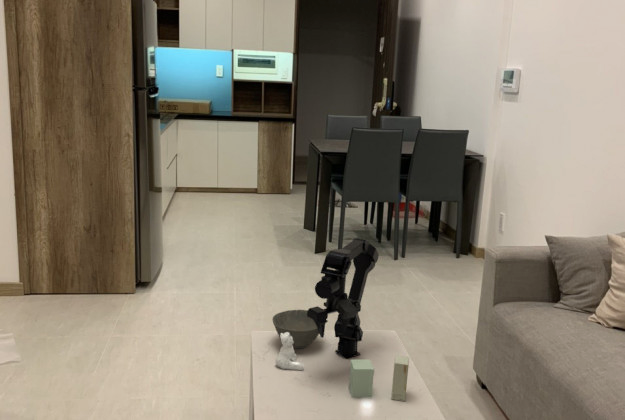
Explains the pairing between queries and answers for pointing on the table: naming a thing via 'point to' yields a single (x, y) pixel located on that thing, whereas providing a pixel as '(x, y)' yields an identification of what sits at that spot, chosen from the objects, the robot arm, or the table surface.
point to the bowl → (296, 327)
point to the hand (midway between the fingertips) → (332, 334)
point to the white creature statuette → (288, 354)
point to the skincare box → (400, 377)
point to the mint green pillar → (361, 378)
